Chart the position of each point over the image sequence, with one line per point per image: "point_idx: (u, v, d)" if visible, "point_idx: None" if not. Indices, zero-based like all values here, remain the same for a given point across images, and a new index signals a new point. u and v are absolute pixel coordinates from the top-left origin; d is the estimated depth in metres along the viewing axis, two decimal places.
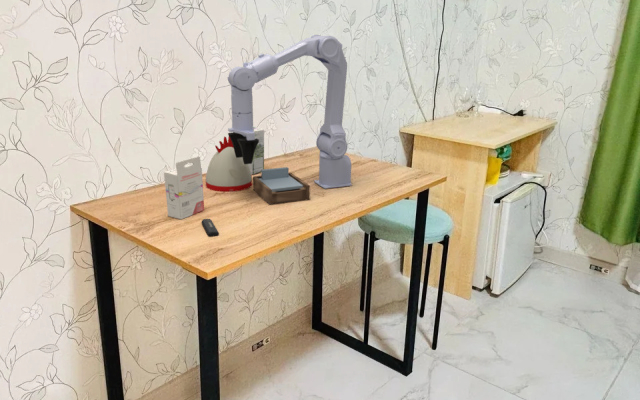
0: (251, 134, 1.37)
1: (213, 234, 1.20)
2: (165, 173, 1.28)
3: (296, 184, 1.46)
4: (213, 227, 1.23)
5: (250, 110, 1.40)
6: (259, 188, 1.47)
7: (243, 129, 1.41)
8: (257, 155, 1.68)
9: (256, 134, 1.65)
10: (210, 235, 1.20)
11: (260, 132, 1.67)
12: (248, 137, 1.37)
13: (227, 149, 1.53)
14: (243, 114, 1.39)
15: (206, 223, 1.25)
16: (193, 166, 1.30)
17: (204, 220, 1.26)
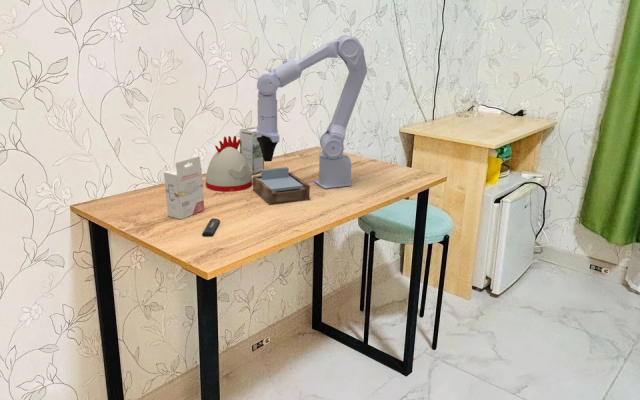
0: (276, 136, 1.47)
1: (206, 234, 1.20)
2: (165, 173, 1.28)
3: (296, 184, 1.46)
4: (212, 227, 1.22)
5: (273, 114, 1.49)
6: (259, 188, 1.47)
7: (268, 132, 1.50)
8: (257, 155, 1.68)
9: (256, 134, 1.65)
10: (203, 235, 1.20)
11: None
12: (273, 139, 1.47)
13: (227, 149, 1.53)
14: (268, 117, 1.49)
15: (210, 223, 1.25)
16: (193, 166, 1.30)
17: (211, 219, 1.27)
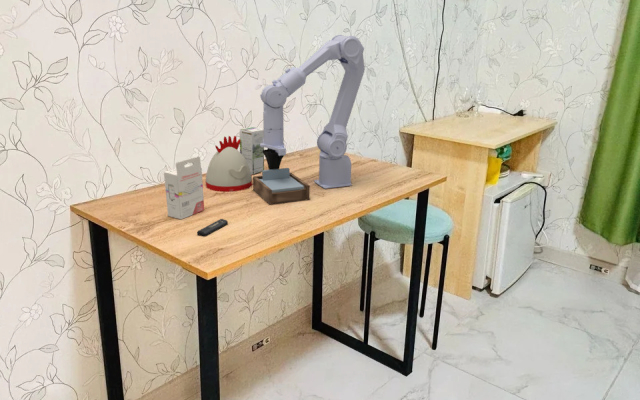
0: (283, 150, 1.44)
1: (200, 234, 1.20)
2: (165, 173, 1.28)
3: (297, 185, 1.46)
4: (210, 228, 1.22)
5: (281, 126, 1.47)
6: (259, 188, 1.47)
7: (274, 144, 1.47)
8: (257, 155, 1.68)
9: (256, 134, 1.65)
10: (198, 234, 1.20)
11: (260, 132, 1.67)
12: (280, 152, 1.44)
13: (227, 149, 1.53)
14: (275, 130, 1.46)
15: (214, 223, 1.25)
16: (193, 166, 1.30)
17: (219, 220, 1.27)
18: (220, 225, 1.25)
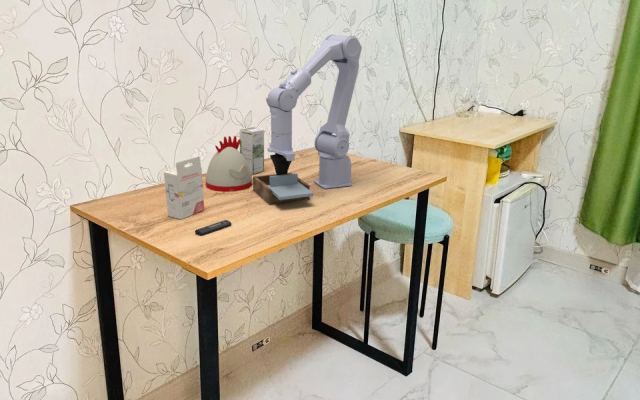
0: (291, 155, 1.38)
1: (197, 233, 1.21)
2: (165, 173, 1.28)
3: (306, 192, 1.40)
4: (209, 228, 1.22)
5: (291, 130, 1.42)
6: (259, 188, 1.47)
7: (282, 149, 1.42)
8: (257, 155, 1.68)
9: (256, 134, 1.65)
10: (195, 232, 1.21)
11: (260, 132, 1.67)
12: (288, 158, 1.38)
13: (227, 149, 1.53)
14: (283, 134, 1.40)
15: (216, 223, 1.25)
16: (193, 166, 1.30)
17: None
18: (221, 226, 1.24)
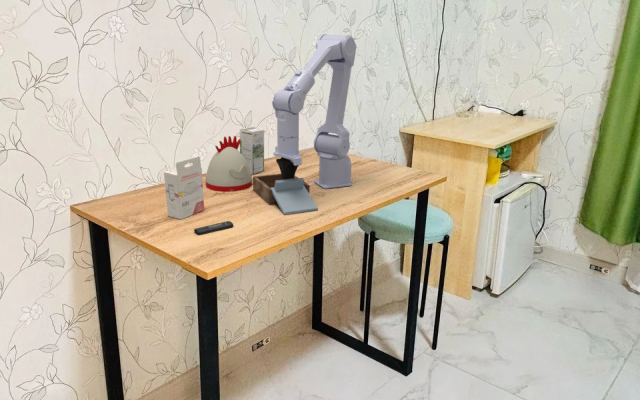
0: (298, 159, 1.34)
1: (195, 232, 1.21)
2: (165, 173, 1.28)
3: (310, 205, 1.38)
4: (208, 228, 1.22)
5: (298, 133, 1.38)
6: (259, 188, 1.47)
7: (289, 153, 1.37)
8: (257, 155, 1.68)
9: (256, 134, 1.65)
10: (194, 231, 1.22)
11: (260, 132, 1.67)
12: (295, 162, 1.34)
13: (227, 149, 1.53)
14: (290, 138, 1.36)
15: (217, 223, 1.25)
16: (193, 166, 1.30)
17: None
18: (221, 227, 1.24)
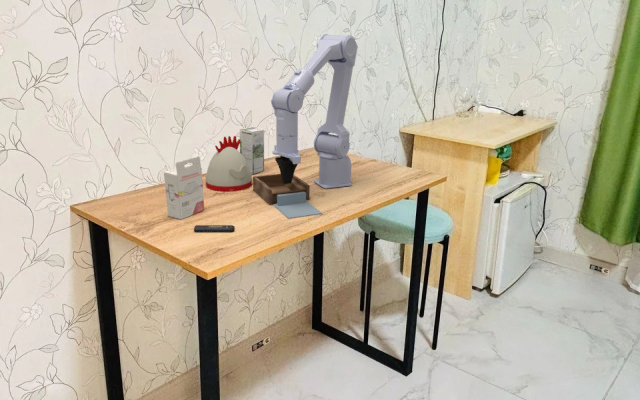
0: (297, 158, 1.35)
1: None
2: (165, 173, 1.28)
3: (314, 212, 1.36)
4: (207, 227, 1.23)
5: (297, 132, 1.39)
6: (259, 188, 1.47)
7: (288, 152, 1.38)
8: (257, 155, 1.68)
9: (256, 134, 1.65)
10: None
11: (260, 132, 1.67)
12: (294, 161, 1.35)
13: (227, 149, 1.53)
14: (289, 137, 1.37)
15: (219, 225, 1.24)
16: (193, 166, 1.30)
17: (228, 225, 1.24)
18: (220, 229, 1.22)
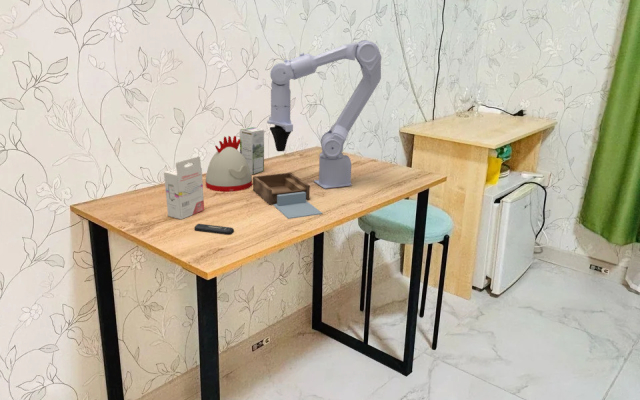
0: (290, 126, 1.47)
1: None
2: (165, 173, 1.28)
3: (314, 212, 1.36)
4: (206, 227, 1.23)
5: (286, 104, 1.50)
6: (259, 188, 1.47)
7: (281, 121, 1.51)
8: (257, 155, 1.68)
9: (256, 134, 1.65)
10: None
11: (260, 132, 1.67)
12: (287, 129, 1.47)
13: (227, 149, 1.53)
14: (282, 107, 1.50)
15: (219, 226, 1.23)
16: (193, 166, 1.30)
17: (228, 227, 1.23)
18: (217, 230, 1.22)
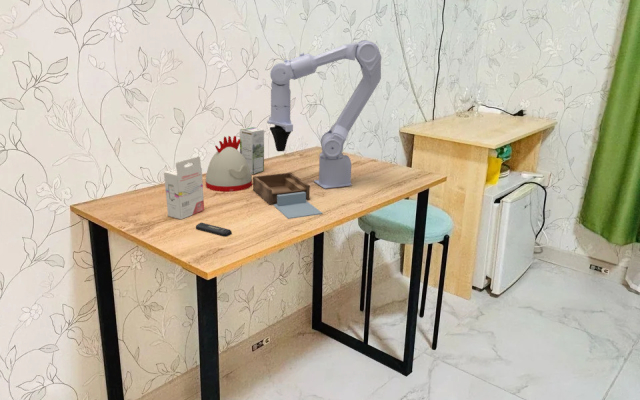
0: (290, 126, 1.47)
1: None
2: (165, 173, 1.28)
3: (314, 212, 1.36)
4: (206, 226, 1.23)
5: (286, 104, 1.50)
6: (259, 188, 1.47)
7: (281, 121, 1.51)
8: (257, 155, 1.68)
9: (256, 134, 1.65)
10: None
11: (260, 132, 1.67)
12: (287, 129, 1.47)
13: (227, 149, 1.53)
14: (282, 107, 1.50)
15: (218, 227, 1.23)
16: (193, 166, 1.30)
17: (226, 229, 1.22)
18: (215, 231, 1.21)
